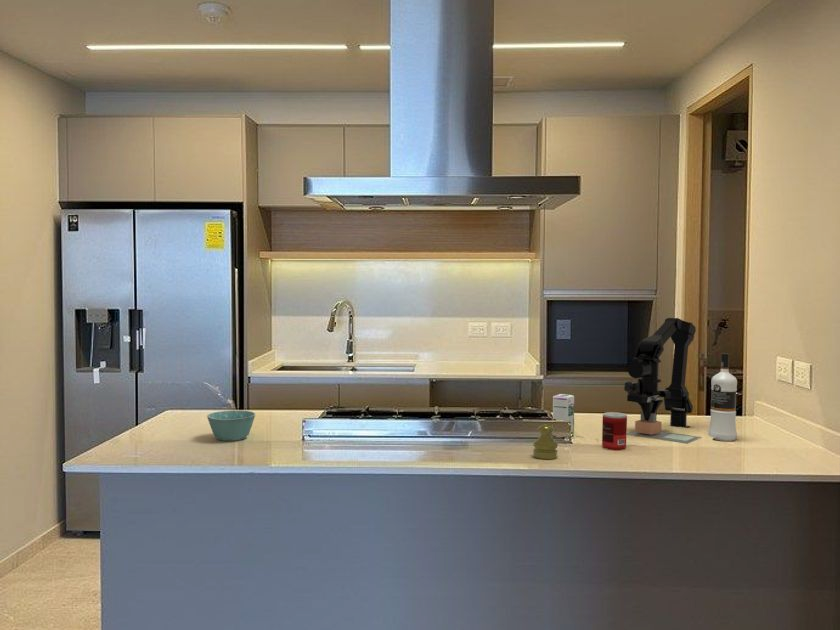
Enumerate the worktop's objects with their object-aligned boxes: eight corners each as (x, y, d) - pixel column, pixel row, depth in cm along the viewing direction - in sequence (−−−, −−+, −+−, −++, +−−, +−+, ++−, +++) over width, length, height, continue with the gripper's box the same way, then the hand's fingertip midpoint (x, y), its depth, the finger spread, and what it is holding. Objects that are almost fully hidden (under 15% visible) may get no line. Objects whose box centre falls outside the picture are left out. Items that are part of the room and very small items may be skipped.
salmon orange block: (645, 429, 266) (645, 410, 266) (661, 432, 261) (661, 413, 261) (634, 431, 262) (635, 412, 262) (650, 434, 257) (651, 415, 257)
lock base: (641, 431, 271) (641, 421, 271) (702, 440, 257) (702, 430, 257) (624, 437, 260) (625, 427, 260) (687, 446, 246) (687, 436, 246)
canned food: (628, 446, 245) (628, 413, 245) (623, 451, 238) (624, 417, 238) (604, 443, 249) (605, 411, 248) (599, 448, 241) (600, 415, 241)
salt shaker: (531, 453, 233) (532, 422, 232) (555, 454, 233) (556, 422, 232) (534, 459, 226) (535, 426, 225) (559, 460, 225) (559, 427, 225)
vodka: (742, 440, 257) (745, 354, 255) (722, 442, 253) (725, 354, 252) (722, 435, 265) (725, 351, 264) (702, 437, 262) (704, 352, 260)
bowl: (220, 446, 238) (220, 420, 238) (199, 437, 250) (199, 413, 250) (263, 439, 248) (264, 415, 248) (241, 432, 260) (241, 408, 260)
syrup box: (567, 438, 256) (568, 396, 255) (551, 436, 259) (552, 395, 259) (574, 436, 261) (575, 394, 260) (558, 433, 264) (559, 393, 263)
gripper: (645, 371, 273) (643, 413, 274) (614, 375, 261) (613, 419, 262) (672, 375, 264) (671, 418, 265) (641, 378, 253) (640, 424, 253)
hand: (648, 420), depth 262 cm, fingers closed on salmon orange block
